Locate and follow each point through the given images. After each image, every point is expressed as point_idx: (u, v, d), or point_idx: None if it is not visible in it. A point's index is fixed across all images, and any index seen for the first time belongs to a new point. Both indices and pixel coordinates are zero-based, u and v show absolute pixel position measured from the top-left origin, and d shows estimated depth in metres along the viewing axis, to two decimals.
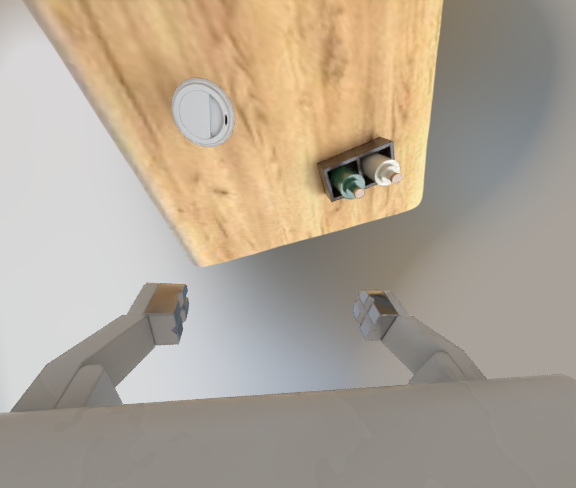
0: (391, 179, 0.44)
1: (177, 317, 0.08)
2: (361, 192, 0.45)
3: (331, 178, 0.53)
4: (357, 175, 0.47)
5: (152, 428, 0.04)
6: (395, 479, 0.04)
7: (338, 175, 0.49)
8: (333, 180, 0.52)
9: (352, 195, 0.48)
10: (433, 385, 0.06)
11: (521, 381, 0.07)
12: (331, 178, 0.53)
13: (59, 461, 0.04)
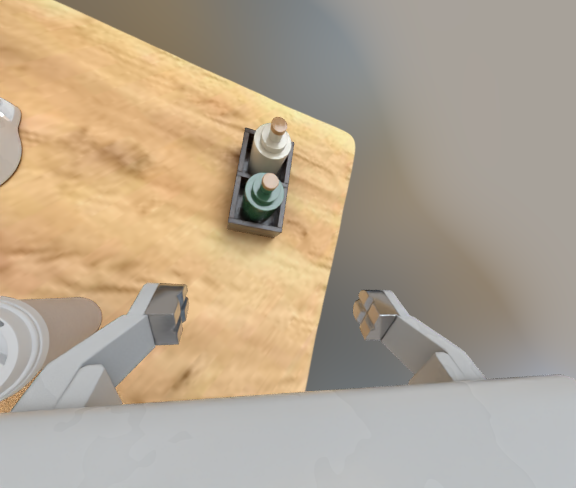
0: (276, 132, 0.29)
1: (177, 317, 0.08)
2: (270, 177, 0.27)
3: (250, 218, 0.36)
4: (251, 178, 0.31)
5: (152, 428, 0.04)
6: (395, 479, 0.04)
7: (244, 205, 0.33)
8: (251, 216, 0.35)
9: (274, 195, 0.30)
10: (433, 385, 0.06)
11: (521, 381, 0.07)
12: (250, 219, 0.37)
13: (59, 461, 0.04)
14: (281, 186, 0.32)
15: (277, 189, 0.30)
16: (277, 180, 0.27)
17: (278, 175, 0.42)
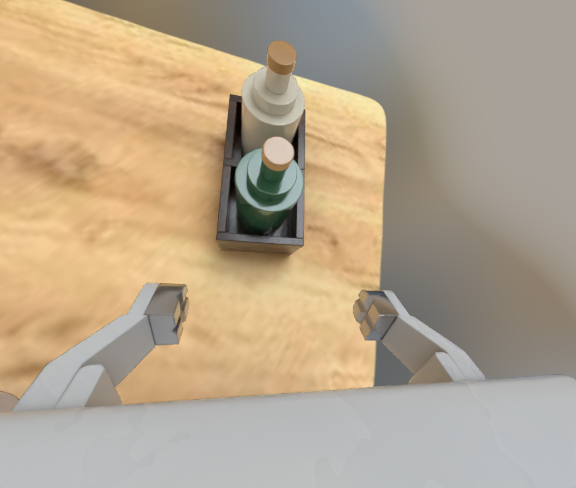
0: (279, 67, 0.16)
1: (177, 317, 0.08)
2: (277, 145, 0.14)
3: (251, 229, 0.23)
4: (244, 158, 0.18)
5: (152, 428, 0.04)
6: (395, 479, 0.04)
7: (239, 208, 0.20)
8: (253, 225, 0.22)
9: (288, 182, 0.17)
10: (433, 385, 0.06)
11: (521, 381, 0.07)
12: (253, 230, 0.23)
13: (59, 461, 0.04)
14: (297, 167, 0.18)
15: (291, 171, 0.17)
16: (291, 149, 0.14)
17: None
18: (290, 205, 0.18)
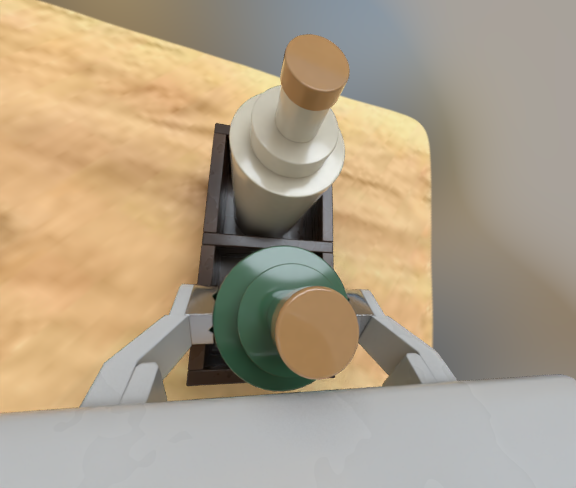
0: (310, 96, 0.07)
1: None
2: (316, 315, 0.05)
3: None
4: (234, 275, 0.09)
5: (152, 428, 0.04)
6: (396, 479, 0.04)
7: None
8: None
9: None
10: (433, 385, 0.06)
11: (521, 381, 0.07)
12: None
13: (59, 461, 0.04)
14: (336, 283, 0.09)
15: None
16: (351, 320, 0.05)
17: None
18: None
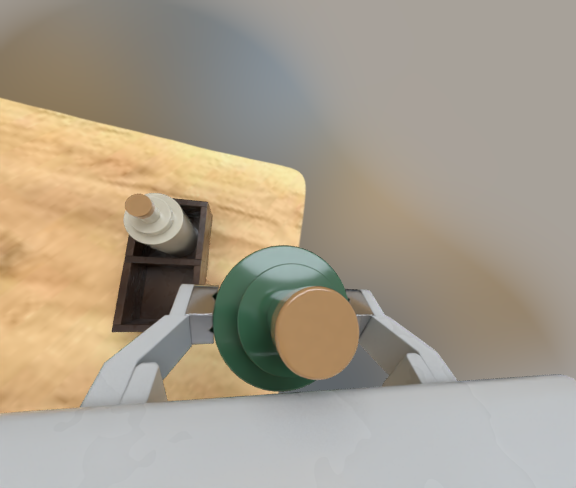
0: (136, 216, 0.19)
1: None
2: (315, 316, 0.05)
3: None
4: (233, 275, 0.09)
5: (152, 428, 0.04)
6: (396, 479, 0.04)
7: None
8: None
9: None
10: (433, 385, 0.06)
11: (521, 381, 0.07)
12: None
13: (59, 461, 0.04)
14: (336, 283, 0.09)
15: None
16: (351, 320, 0.05)
17: None
18: None
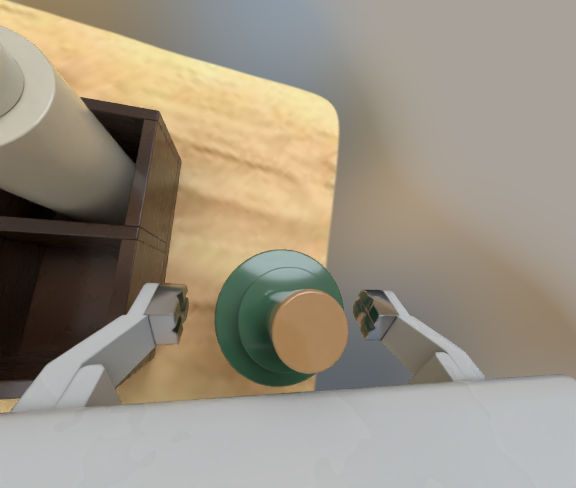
0: None
1: (177, 317, 0.08)
2: (308, 316, 0.06)
3: None
4: (234, 278, 0.09)
5: (152, 428, 0.04)
6: (395, 479, 0.04)
7: None
8: None
9: None
10: (433, 385, 0.06)
11: (521, 381, 0.07)
12: None
13: (59, 461, 0.04)
14: (331, 285, 0.10)
15: None
16: (341, 320, 0.06)
17: None
18: None
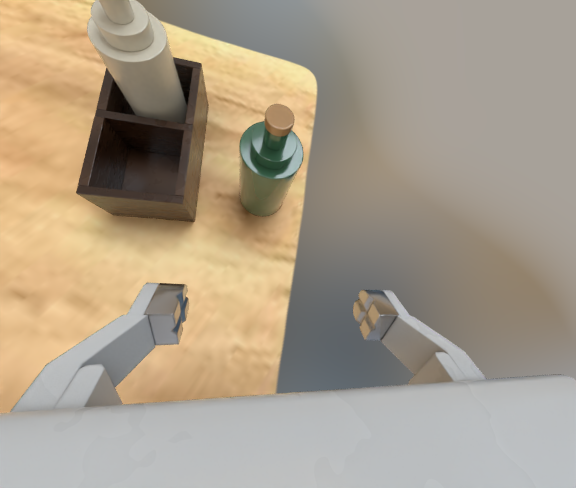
0: None
1: (177, 317, 0.08)
2: (279, 111, 0.16)
3: (254, 204, 0.25)
4: (248, 130, 0.19)
5: (152, 428, 0.04)
6: (396, 479, 0.04)
7: (243, 180, 0.21)
8: (256, 198, 0.23)
9: (289, 151, 0.18)
10: (433, 385, 0.06)
11: (521, 381, 0.07)
12: (256, 205, 0.25)
13: (59, 461, 0.04)
14: (297, 140, 0.20)
15: (292, 141, 0.18)
16: (291, 115, 0.16)
17: None
18: (291, 174, 0.19)
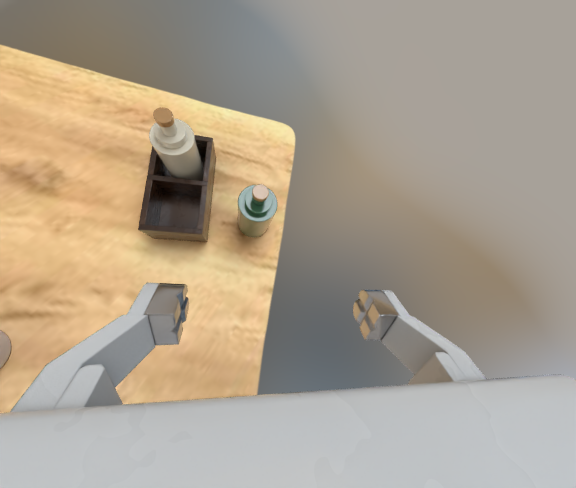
0: (161, 124, 0.26)
1: (177, 317, 0.08)
2: (260, 189, 0.28)
3: (248, 231, 0.37)
4: (243, 191, 0.31)
5: (152, 428, 0.04)
6: (395, 479, 0.04)
7: (240, 218, 0.34)
8: (248, 229, 0.35)
9: (267, 205, 0.30)
10: (433, 385, 0.06)
11: (521, 381, 0.07)
12: (249, 232, 0.37)
13: (59, 461, 0.04)
14: (273, 196, 0.32)
15: (269, 199, 0.31)
16: (267, 190, 0.28)
17: None
18: (269, 218, 0.31)
